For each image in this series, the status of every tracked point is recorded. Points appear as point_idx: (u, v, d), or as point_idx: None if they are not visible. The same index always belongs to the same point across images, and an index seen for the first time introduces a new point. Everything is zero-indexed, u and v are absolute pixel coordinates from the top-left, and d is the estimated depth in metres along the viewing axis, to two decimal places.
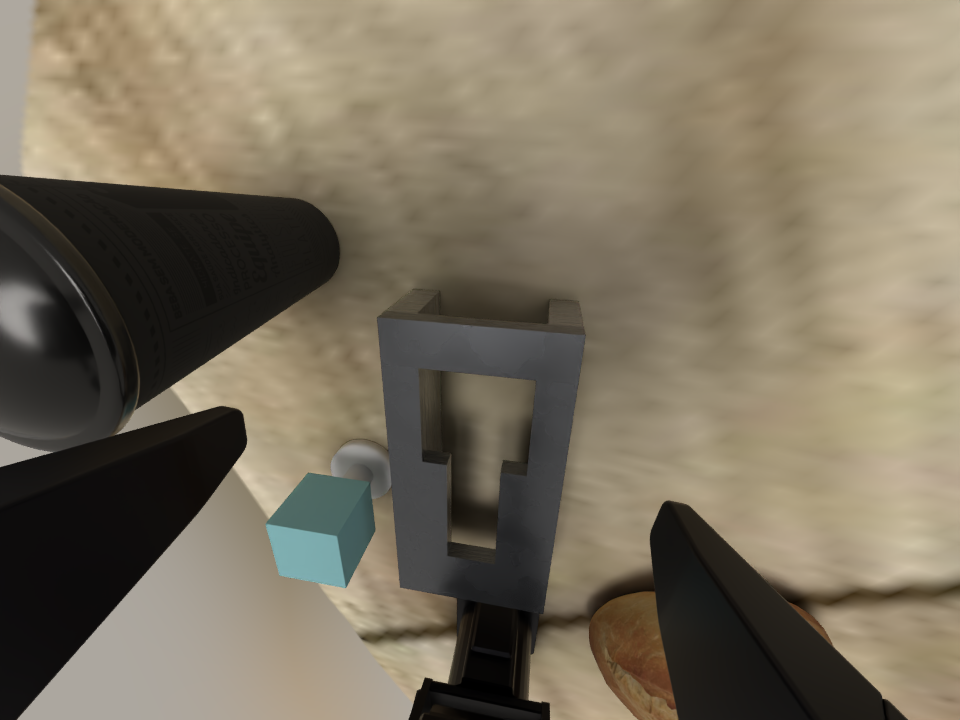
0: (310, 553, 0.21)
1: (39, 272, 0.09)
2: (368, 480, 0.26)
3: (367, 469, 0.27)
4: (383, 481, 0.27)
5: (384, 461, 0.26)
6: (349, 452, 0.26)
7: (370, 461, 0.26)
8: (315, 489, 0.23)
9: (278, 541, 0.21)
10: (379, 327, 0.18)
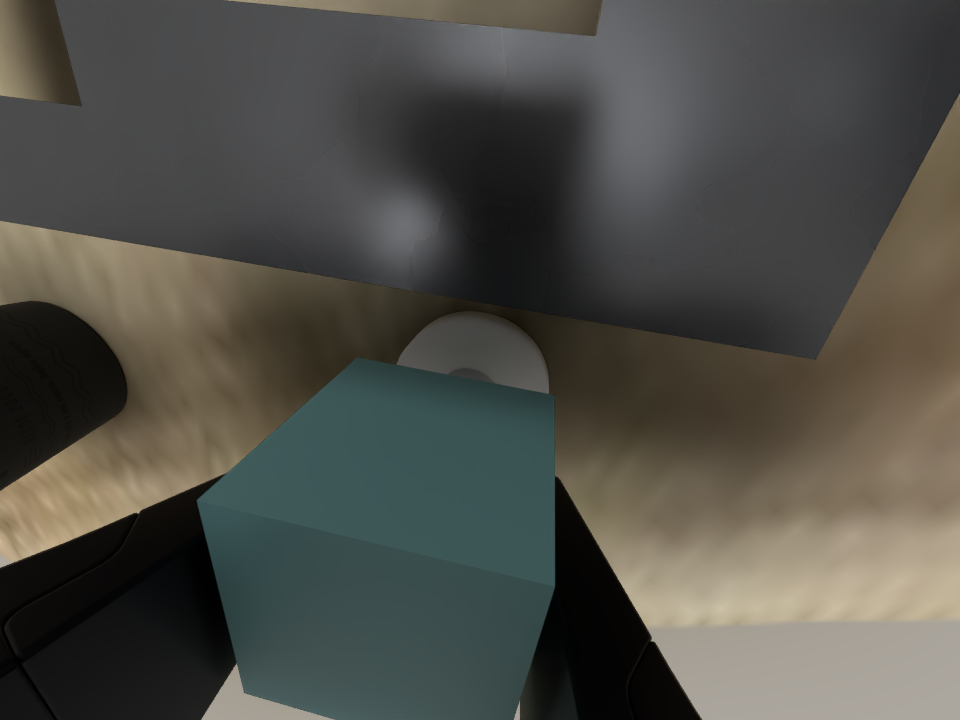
0: (340, 631, 0.05)
1: None
2: None
3: None
4: (486, 346, 0.10)
5: (427, 329, 0.10)
6: None
7: (427, 363, 0.11)
8: None
9: (314, 696, 0.06)
10: None
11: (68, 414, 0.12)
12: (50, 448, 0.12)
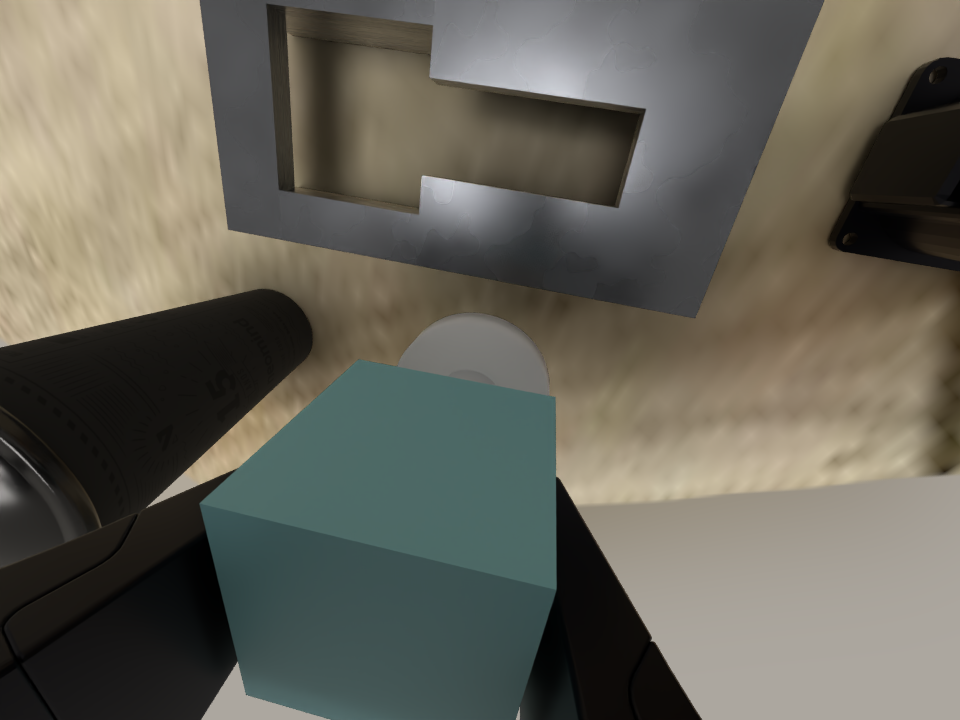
0: (343, 633, 0.05)
1: None
2: None
3: None
4: (487, 348, 0.10)
5: (428, 331, 0.10)
6: None
7: (427, 364, 0.11)
8: None
9: (316, 698, 0.06)
10: (238, 229, 0.16)
11: (294, 356, 0.21)
12: (284, 376, 0.21)
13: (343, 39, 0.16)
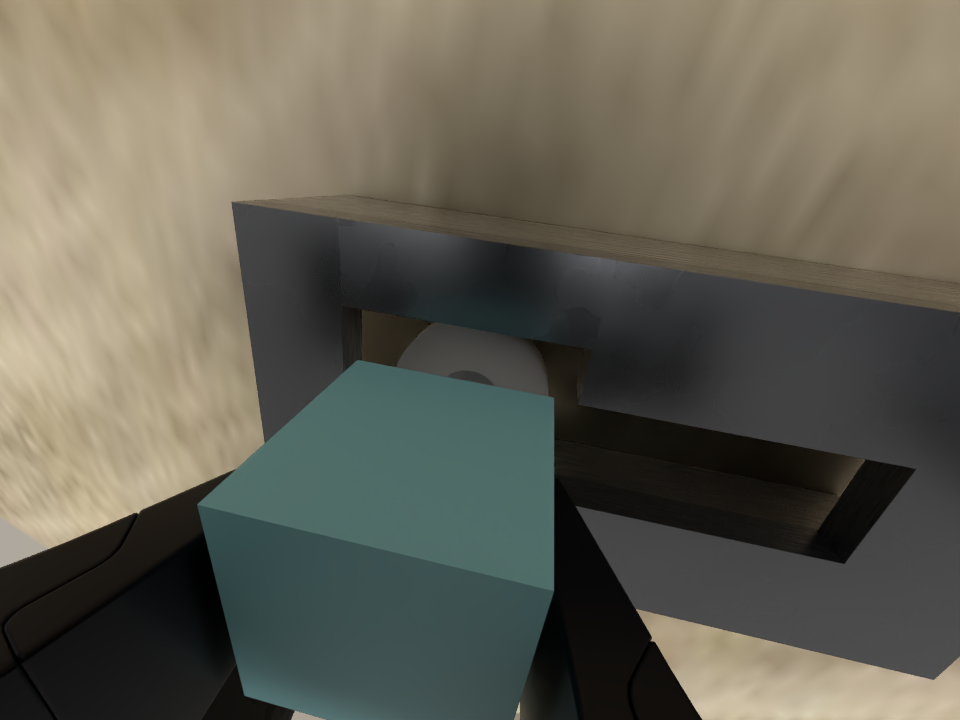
0: (341, 635, 0.05)
1: None
2: None
3: None
4: (486, 349, 0.10)
5: (427, 331, 0.10)
6: None
7: (427, 365, 0.11)
8: None
9: (314, 698, 0.06)
10: None
11: None
12: None
13: None
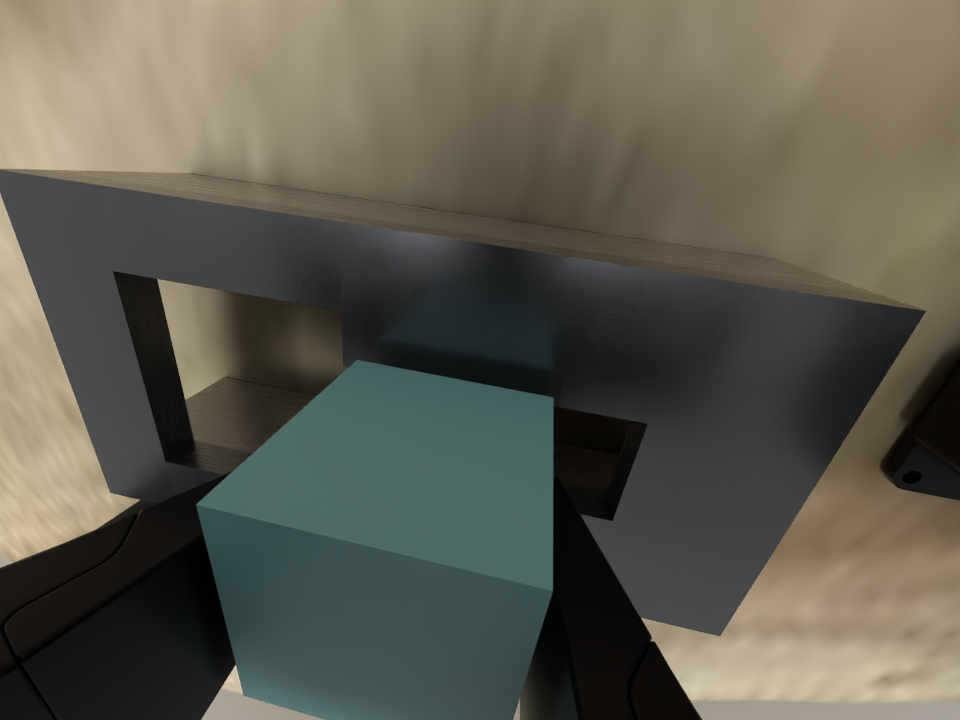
0: (340, 634, 0.05)
1: None
2: None
3: None
4: None
5: None
6: None
7: None
8: None
9: (313, 698, 0.06)
10: (122, 494, 0.12)
11: None
12: None
13: None
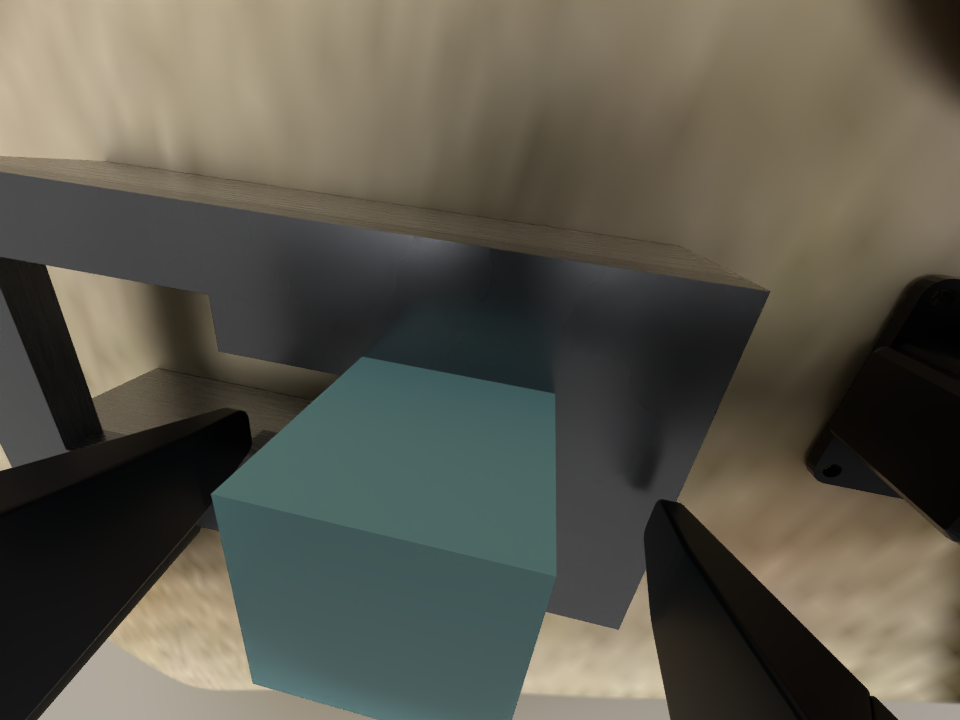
0: (348, 622, 0.05)
1: None
2: None
3: None
4: None
5: None
6: None
7: None
8: None
9: (321, 686, 0.06)
10: None
11: (168, 556, 0.18)
12: (155, 580, 0.17)
13: None
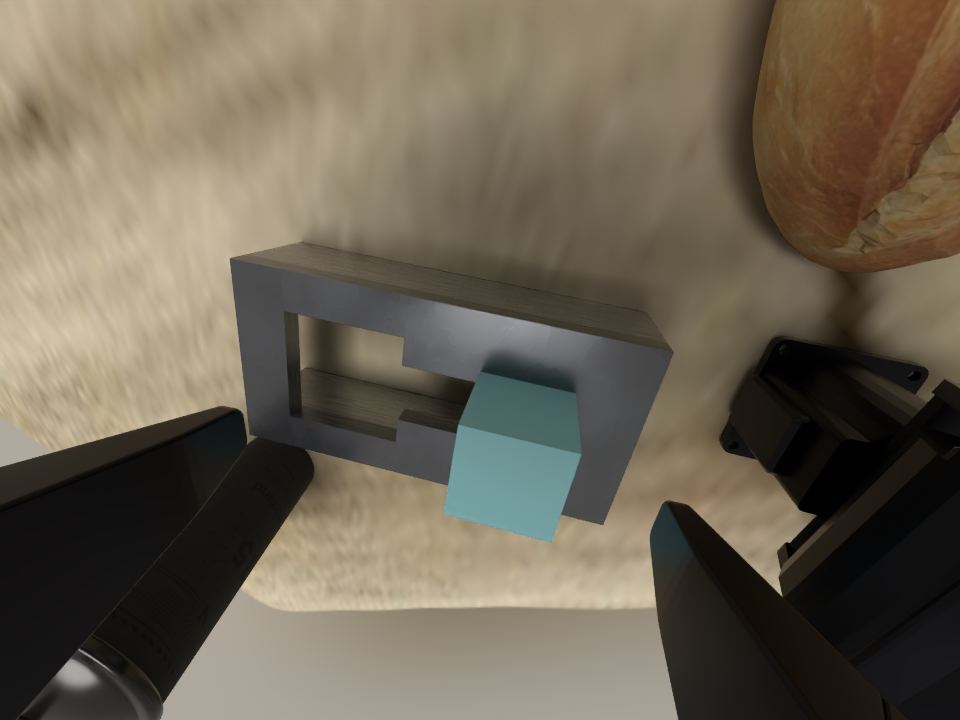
0: (498, 478, 0.13)
1: None
2: None
3: None
4: None
5: None
6: None
7: None
8: None
9: (476, 512, 0.14)
10: (257, 435, 0.20)
11: (299, 495, 0.26)
12: (290, 511, 0.26)
13: None
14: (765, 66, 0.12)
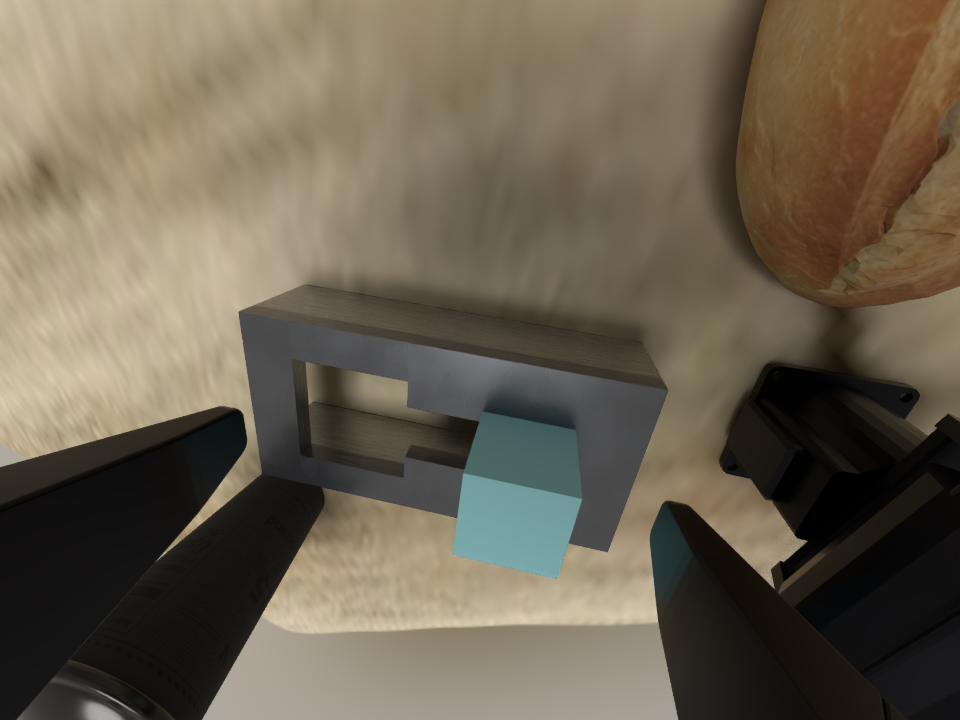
0: (504, 521, 0.14)
1: None
2: None
3: None
4: None
5: None
6: None
7: None
8: None
9: (484, 552, 0.15)
10: (270, 474, 0.21)
11: (310, 524, 0.26)
12: (303, 541, 0.26)
13: None
14: (744, 124, 0.12)
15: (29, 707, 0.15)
